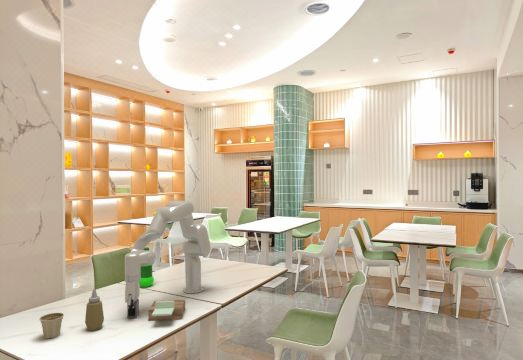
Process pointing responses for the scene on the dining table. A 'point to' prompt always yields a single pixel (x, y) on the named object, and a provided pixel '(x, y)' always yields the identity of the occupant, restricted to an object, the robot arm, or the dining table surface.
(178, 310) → the socket
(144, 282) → the plastic bottle
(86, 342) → the dining table surface
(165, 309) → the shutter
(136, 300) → the plug
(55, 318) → the flower pot
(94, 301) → the squeeze bottle
